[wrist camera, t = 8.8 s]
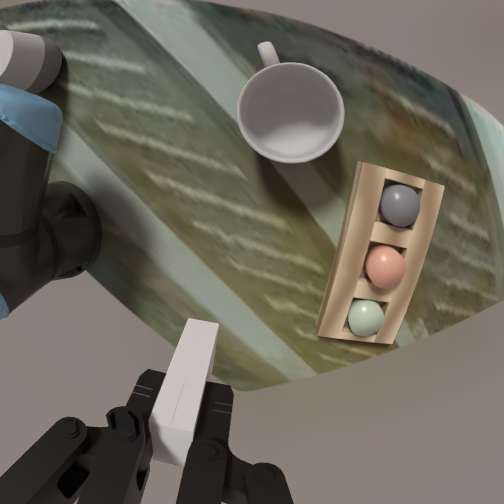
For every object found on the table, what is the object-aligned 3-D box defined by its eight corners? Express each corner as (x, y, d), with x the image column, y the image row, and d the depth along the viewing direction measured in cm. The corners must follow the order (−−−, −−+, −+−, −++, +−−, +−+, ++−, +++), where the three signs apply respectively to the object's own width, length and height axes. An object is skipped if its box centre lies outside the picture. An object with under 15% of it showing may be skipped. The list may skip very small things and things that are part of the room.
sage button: (341, 322, 43) (345, 334, 40) (351, 292, 41) (356, 302, 39) (371, 326, 43) (377, 337, 40) (382, 297, 41) (389, 307, 39)
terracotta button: (359, 276, 40) (364, 285, 37) (369, 240, 38) (376, 248, 35) (391, 281, 39) (398, 291, 37) (402, 247, 38) (410, 255, 35)
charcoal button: (372, 216, 38) (380, 222, 35) (381, 179, 36) (389, 182, 33) (405, 224, 38) (414, 230, 35) (414, 188, 36) (424, 191, 33)
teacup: (335, 156, 37) (351, 158, 29) (250, 165, 38) (244, 170, 30) (319, 52, 32) (330, 31, 25) (234, 61, 33) (224, 42, 26)
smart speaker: (66, 87, 35) (2, 78, 22) (26, 102, 36) (-35, 101, 22) (69, 34, 32) (12, 12, 19) (29, 52, 32) (-28, 40, 19)
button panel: (315, 324, 45) (317, 335, 42) (356, 160, 37) (362, 162, 34) (386, 333, 44) (392, 344, 42) (434, 183, 36) (444, 186, 34)
